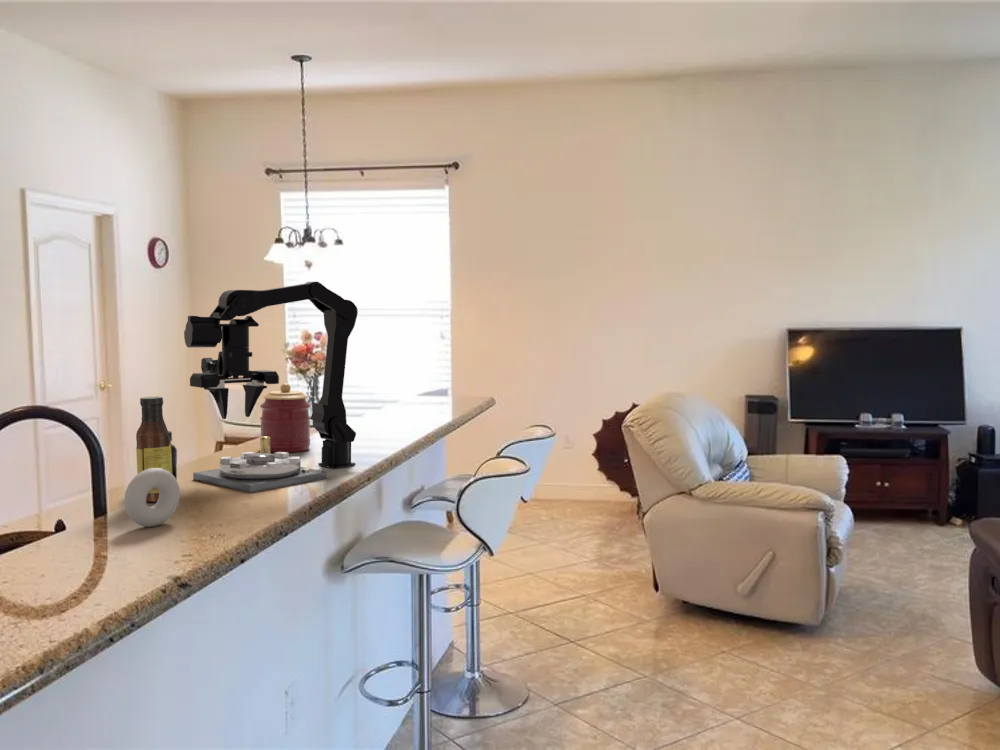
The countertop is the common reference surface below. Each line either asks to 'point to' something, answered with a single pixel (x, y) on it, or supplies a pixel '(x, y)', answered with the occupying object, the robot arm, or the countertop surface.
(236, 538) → the countertop surface
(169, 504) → the donut
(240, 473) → the lugged silver disc
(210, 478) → the flat gray square plate
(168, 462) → the sauce bottle
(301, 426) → the canister
